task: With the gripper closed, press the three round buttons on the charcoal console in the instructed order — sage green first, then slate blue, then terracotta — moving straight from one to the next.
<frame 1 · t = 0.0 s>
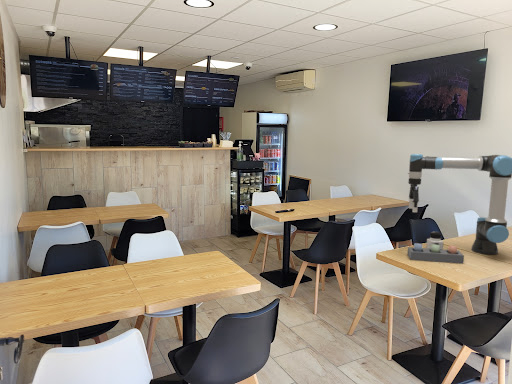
hand: (412, 210, 248), 28 cm above the table, fingers open, 13 cm apart
sage button: (435, 249, 236), point 6 cm above the table, slide at 0.0 cm
console: (434, 258, 237), on the table
slate button: (417, 248, 238), point 6 cm above the table, slide at 0.0 cm
terracotta button: (452, 250, 234), point 6 cm above the table, slide at 0.0 cm
container: (434, 251, 254), on the table
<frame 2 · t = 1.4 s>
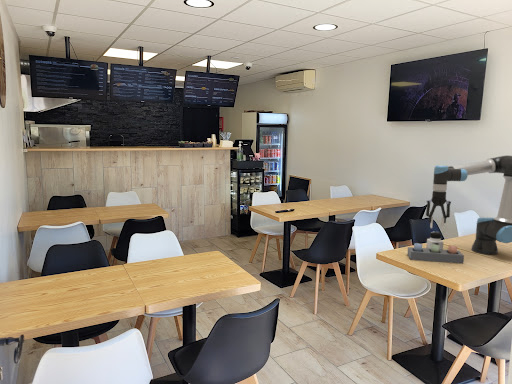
hand: (436, 227, 234), 20 cm above the table, fingers open, 6 cm apart
nothing on the table moved.
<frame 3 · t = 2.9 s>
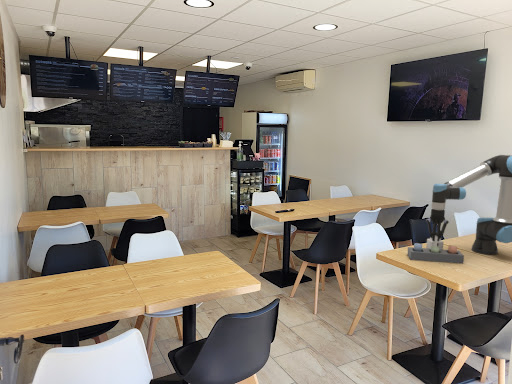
hand: (435, 246, 236), 8 cm above the table, fingers closed
sage button: (435, 250, 236), point 5 cm above the table, slide at 0.9 cm, touching gripper
everything else where it was.
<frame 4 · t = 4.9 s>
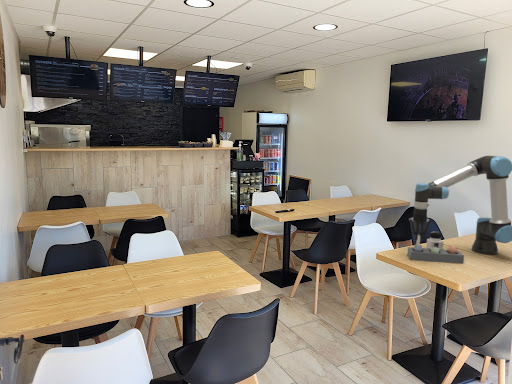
hand: (417, 245, 238), 8 cm above the table, fingers closed
sage button: (434, 252, 236), point 4 cm above the table, slide at 1.8 cm
slate button: (417, 249, 238), point 5 cm above the table, slide at 0.9 cm, touching gripper
everything else where it was.
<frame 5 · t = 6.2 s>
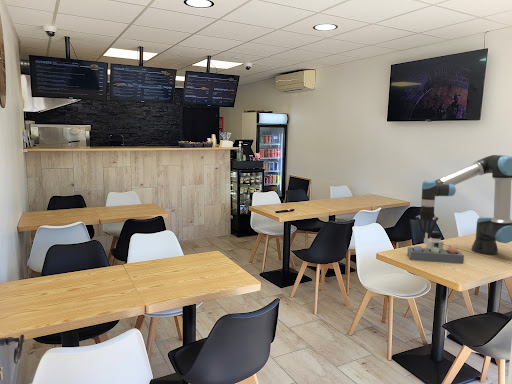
hand: (425, 242, 237), 10 cm above the table, fingers closed
slate button: (417, 250, 239), point 5 cm above the table, slide at 1.8 cm
everything else where it was.
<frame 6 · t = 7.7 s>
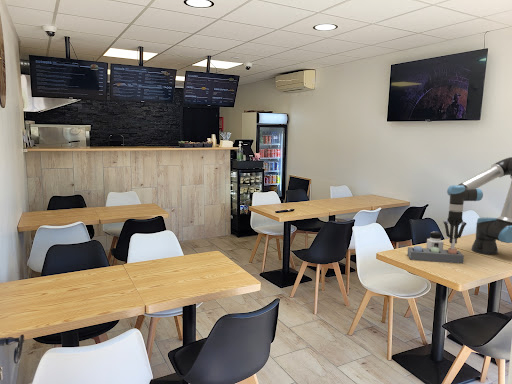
hand: (452, 248, 234), 8 cm above the table, fingers closed
terracotta button: (452, 252, 234), point 5 cm above the table, slide at 1.5 cm
everything else where it was.
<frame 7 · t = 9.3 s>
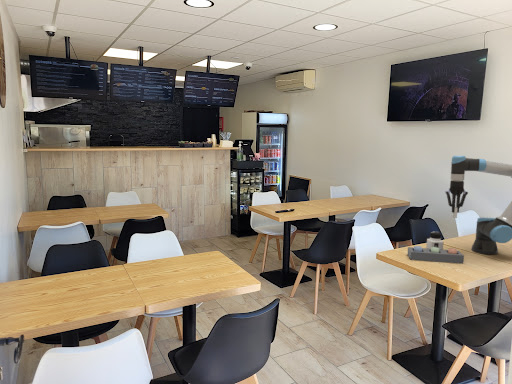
hand: (454, 217, 240), 25 cm above the table, fingers closed
nothing on the table moved.
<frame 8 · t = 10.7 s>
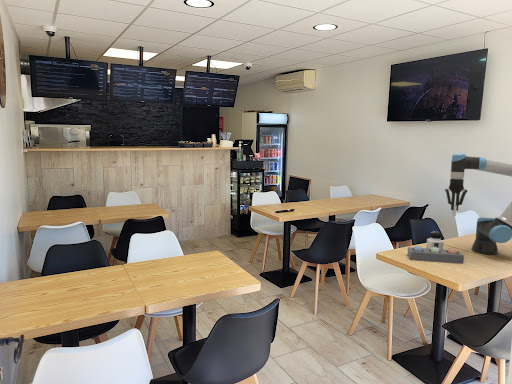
hand: (454, 215, 241), 26 cm above the table, fingers closed
nothing on the table moved.
at the end: sage button slide at 1.8 cm; slate button slide at 1.8 cm; terracotta button slide at 1.8 cm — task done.
